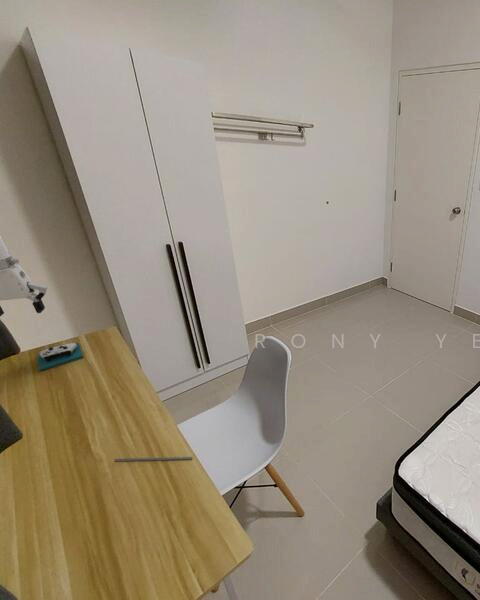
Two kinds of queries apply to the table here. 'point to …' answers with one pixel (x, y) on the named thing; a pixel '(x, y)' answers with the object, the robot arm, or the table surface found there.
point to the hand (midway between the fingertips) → (21, 313)
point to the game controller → (58, 351)
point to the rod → (153, 459)
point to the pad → (60, 359)
